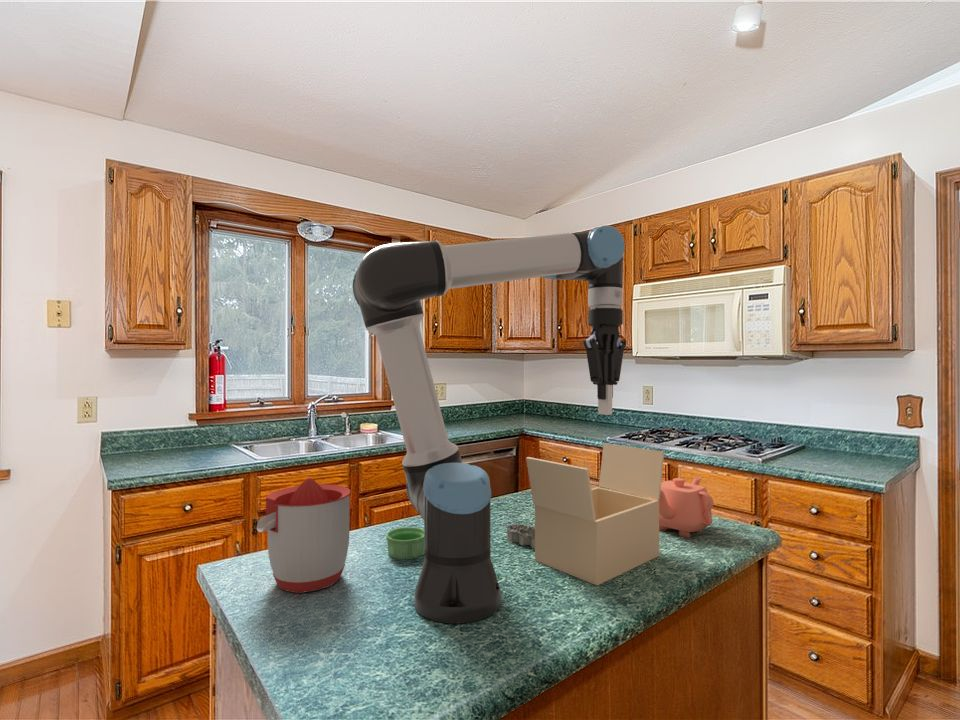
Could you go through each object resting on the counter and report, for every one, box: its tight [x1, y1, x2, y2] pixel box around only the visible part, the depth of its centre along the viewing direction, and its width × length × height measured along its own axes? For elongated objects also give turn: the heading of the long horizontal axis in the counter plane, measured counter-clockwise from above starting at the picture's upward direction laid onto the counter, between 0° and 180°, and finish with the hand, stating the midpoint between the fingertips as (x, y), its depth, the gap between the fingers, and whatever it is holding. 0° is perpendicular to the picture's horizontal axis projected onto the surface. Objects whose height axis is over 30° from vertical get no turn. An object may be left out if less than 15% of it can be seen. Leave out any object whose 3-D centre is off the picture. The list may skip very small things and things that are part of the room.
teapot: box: [648, 476, 714, 538], centre depth 129 cm, size 15×17×13 cm
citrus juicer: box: [256, 477, 351, 594], centre depth 99 cm, size 16×17×20 cm
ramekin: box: [385, 526, 425, 560], centre depth 114 cm, size 9×9×4 cm
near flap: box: [525, 456, 596, 522], centre depth 102 cm, size 10×16×1 cm
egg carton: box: [504, 522, 535, 550], centre depth 121 cm, size 11×8×4 cm
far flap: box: [598, 442, 665, 500], centre depth 118 cm, size 10×16×1 cm
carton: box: [534, 486, 660, 586], centre depth 110 cm, size 22×16×12 cm
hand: (605, 414), depth 114 cm, fingers closed
